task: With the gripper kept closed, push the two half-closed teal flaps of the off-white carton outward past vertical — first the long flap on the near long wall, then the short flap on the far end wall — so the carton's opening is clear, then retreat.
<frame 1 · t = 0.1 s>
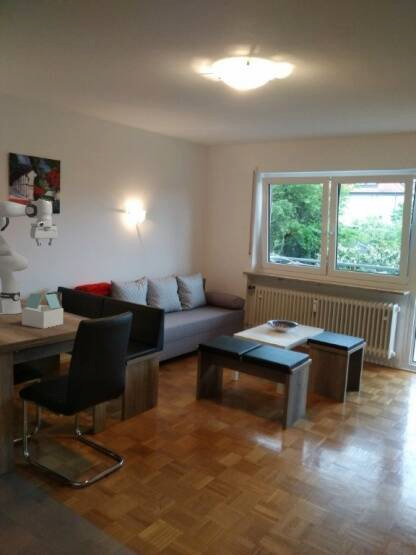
hand: (44, 245, 285), 48 cm above the table, fingers open, 8 cm apart
teal flap short: (52, 301, 273), point 15 cm above the table, hinge at -30.0°
carton: (42, 324, 275), on the table
coffee box: (54, 316, 300), on the table
teal flap long: (33, 301, 270), point 15 cm above the table, hinge at -30.0°
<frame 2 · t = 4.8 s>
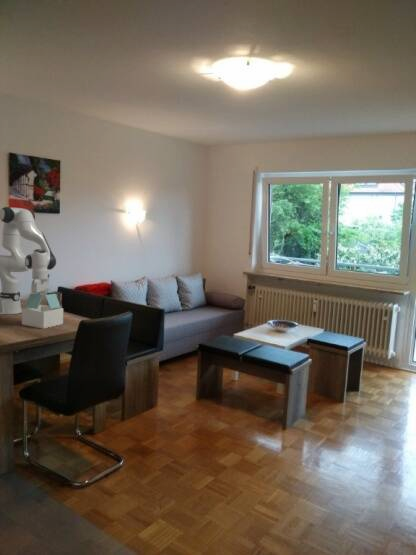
hand: (39, 298, 274), 16 cm above the table, fingers closed
teal flap long: (33, 301, 270), point 15 cm above the table, hinge at -29.9°, touching gripper
everything else where it was.
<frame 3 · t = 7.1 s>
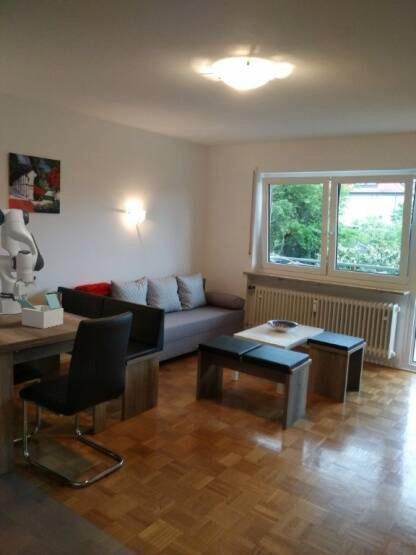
hand: (24, 301, 263), 16 cm above the table, fingers closed, pressing on teal flap long
teal flap long: (25, 304, 264), point 14 cm above the table, hinge at 50.1°, touching gripper
everything else where it was.
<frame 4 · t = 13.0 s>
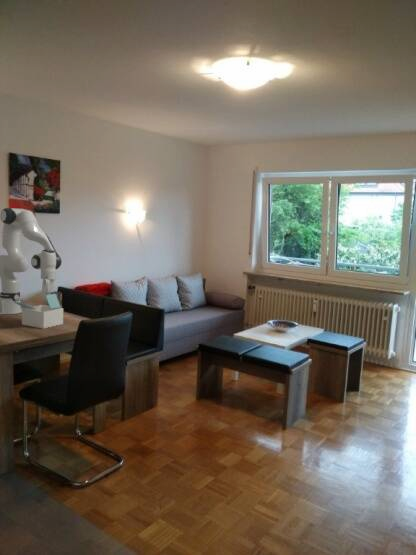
hand: (47, 298, 274), 16 cm above the table, fingers closed
teal flap short: (52, 301, 273), point 15 cm above the table, hinge at -29.8°, touching gripper
teal flap long: (25, 305, 264), point 13 cm above the table, hinge at 60.6°
everything else where it was.
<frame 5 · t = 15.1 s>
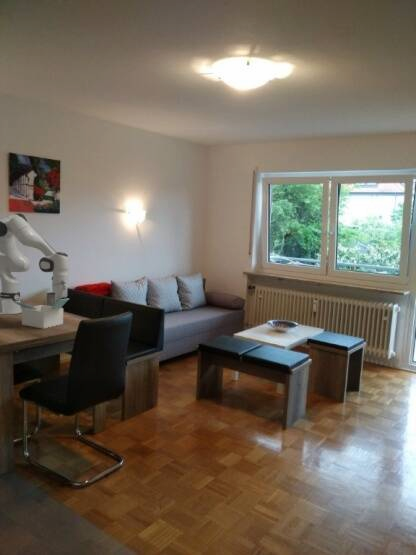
hand: (59, 301, 269), 15 cm above the table, fingers closed, pressing on teal flap short
teal flap short: (60, 303, 270), point 14 cm above the table, hinge at 46.7°, touching gripper
everything else where it was.
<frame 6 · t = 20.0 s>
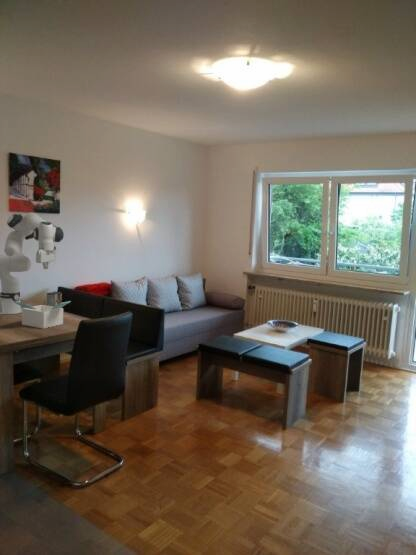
hand: (45, 269, 284), 33 cm above the table, fingers closed
teal flap short: (61, 305, 270), point 13 cm above the table, hinge at 59.3°
everything else where it was.
at the end: teal flap long at +61° (first picture: -30°); teal flap short at +59° (first picture: -30°) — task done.
